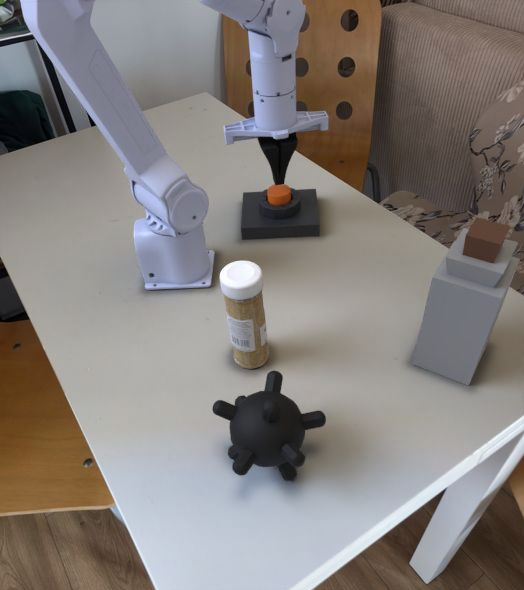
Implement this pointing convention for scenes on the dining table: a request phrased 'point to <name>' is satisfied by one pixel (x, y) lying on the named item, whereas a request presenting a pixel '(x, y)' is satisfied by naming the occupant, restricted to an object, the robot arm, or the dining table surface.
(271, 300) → the dining table surface
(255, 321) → the spice jar
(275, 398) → the toy ball
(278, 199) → the button
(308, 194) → the control block
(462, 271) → the perfume bottle
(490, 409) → the dining table surface
